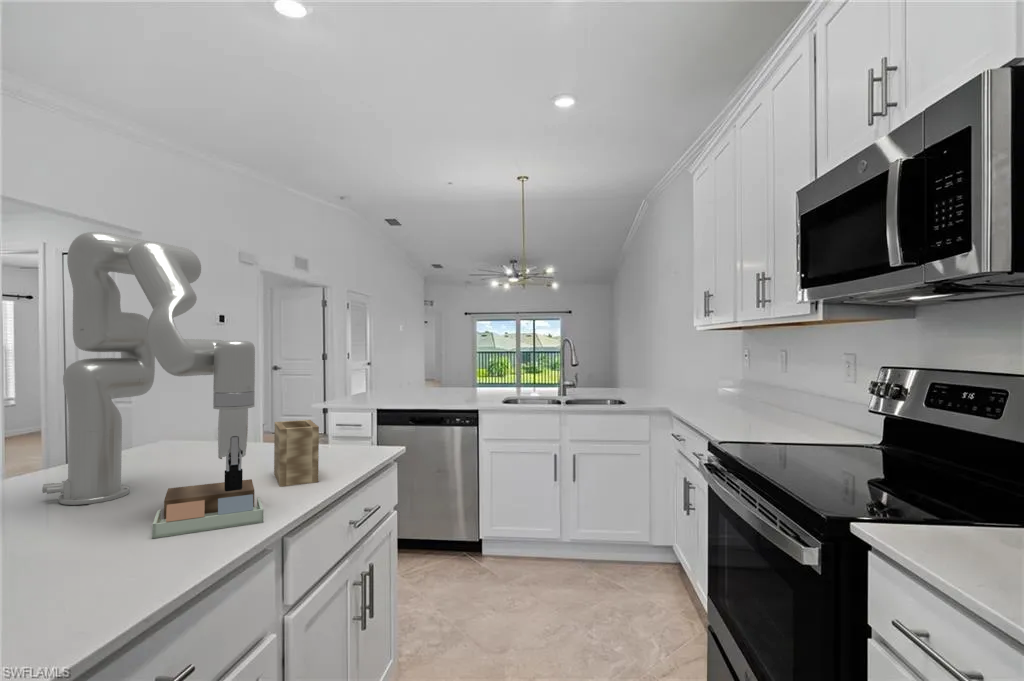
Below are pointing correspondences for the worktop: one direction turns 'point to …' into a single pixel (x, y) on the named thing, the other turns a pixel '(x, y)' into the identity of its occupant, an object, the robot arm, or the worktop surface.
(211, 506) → the walnut board
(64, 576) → the worktop surface
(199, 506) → the terracotta tile
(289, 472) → the utensil caddy
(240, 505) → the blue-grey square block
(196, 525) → the tray
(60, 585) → the worktop surface
